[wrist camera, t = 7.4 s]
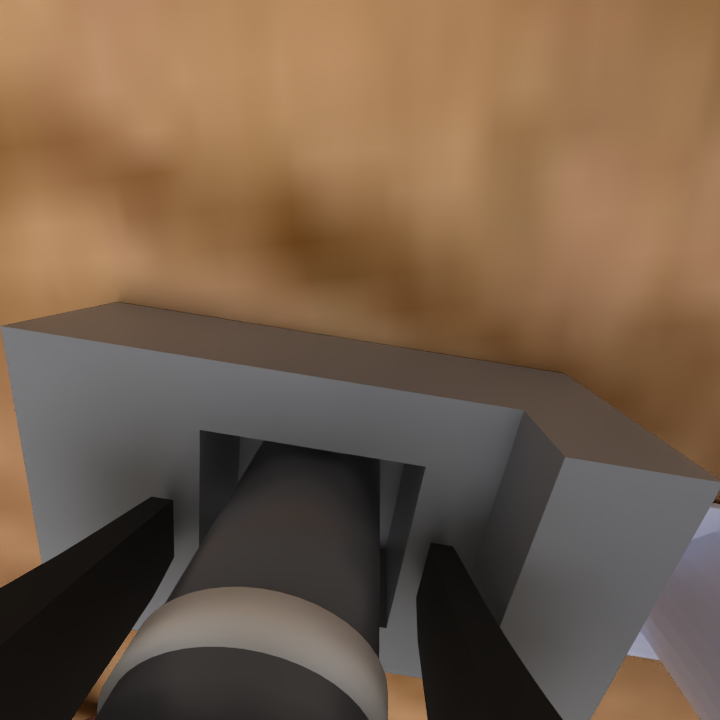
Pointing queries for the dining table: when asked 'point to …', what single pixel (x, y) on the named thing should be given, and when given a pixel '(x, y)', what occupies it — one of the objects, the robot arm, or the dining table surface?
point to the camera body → (397, 469)
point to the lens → (270, 604)
